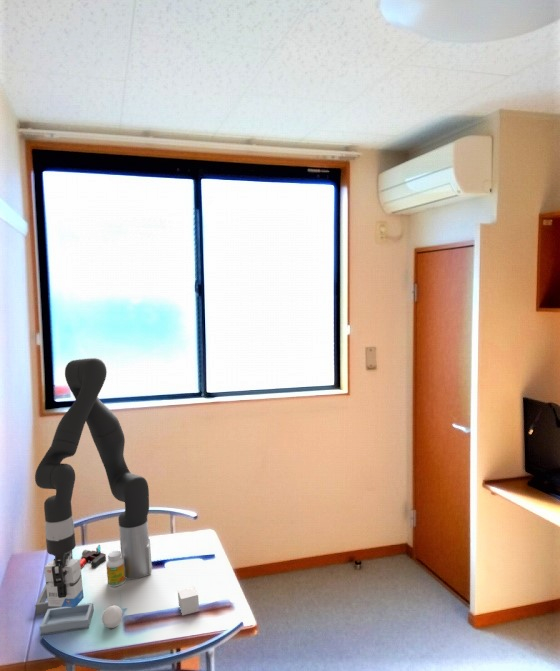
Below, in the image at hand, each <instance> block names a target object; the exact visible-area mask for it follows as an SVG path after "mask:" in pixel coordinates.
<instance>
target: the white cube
mask: <svg viewBox="0 0 560 671" xmlns="http://www.w3.org/2000/svg"><path fill="white" fill-rule="evenodd" d="M177 596H178V597H177V599H178V607H179V606H180V608H181V611H180V613H182V614H181V616H185V615H189V614H193V613H197V612H199V611H200V604H199V602H200V601H199V593H198V592H197V589H196V587H195V586H191V587H187V588H183V589H179V590H177ZM180 608H179V609H180Z"/></svg>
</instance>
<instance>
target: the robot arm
mask: <svg viewBox="0 0 560 671" xmlns="http://www.w3.org/2000/svg"><path fill="white" fill-rule="evenodd" d="M107 373H108V372H107V367H106V364H105V362H104V361H103V360H102V359H100V358H97V357H93V358H92V357H90V358H82V359H75V360H71V361H69V362H68V363H67V364H66V366H65V368H64V377H65V381H66V384H67V385H68V387H69V389H70V391H71V394H72V395H73V398H74V399H75V400H74V402H73V403H72V405H71V406H70V407H69V408H68V410H67V411H66V412H65V414H64V415H63V416H62V417H61V419H60V421H59V423H58V424H57V427H56V429H55V433H54V435H53V439H52V442H51V445H50V447H49V448H48V449H47V451H46V453H45V455H44V456H43V458H42V460H40V462H39V464H38V466H37V468H36V470H35V474H34V479H35V484H36V486H37V487H39V488H40V489H45V490H55V495H52V496H48V497H47V498H46V499H45V500H44V503H43V507H44V508H43V509H44V511H43V512H44V522H45V524H44V533H45V543H46V545H45V546H46V552H47V553H48V554H49V555H51V556H54V558H53V559H54V560H53V559H52V560H53V565H54V566H52V575H53V582H54V587H56V586H57V591H58V597H59V598H62V597H66V595H67V590H66V575H67V571H66V570H65V572H63V568H64V567H65V566H67V565H68V563H69V560H70V559H74V558H73V550H74V549H75V548H76V533H75V524H74V523H75V522H74V518H73V510H72V497H73V493H74V492H73V491H74V487H75V482H76V472H75V470H74V468H73V466H72V465H71V464H68V463H62V462H63V460H65V459H67V458H71V457H74V456H75V455H76V452H77V450H78V447H79V443H80V441H81V437H82V433H83V430H84V427H85V424H86V425H87V427H88V429H89V433H90V435H91V438H92V440H93V442H94V443H93V444H94V446H95V447H96V450H97V452H98V455H99V457H100V459H101V462H102V465H103V467H104V469H105V473H106V477H107V480H108V481H107V482H108V485H109V488H110V491H111V495H112V496H113V497H114V498H115V499H116V500H117V501H119V502H123V503H124V511H123V512H121V513H120V514H119V515H118V530H119V544H120V546H119V547H120V552H121V558H123V560H124V572H125V579H129V580H136V579H141V578H144V577H146V576H149V575H151V573H152V569H153V568H152V566H153V565H152V552H151V541H150V538H149V536H150V533H149V524H148V522H149V521H148V514H149V511H150V492H149V484H148V481H147V480H146V478H145V477H143V476H142V475H138V474H134V473H132V472H130V469H129V468H128V465H127V462H126V461H125V457H124V456H125V455H124V452H125V445H126V444H125V443H126V440H125V434H124V432H123V429H122V426H121V423H120V420H119V419H118V417H117V416H116V415H115V414H114V412H113V411H112V410H111V409H109V407H108V406H106V404H104V403H103V402H102V400H100V398H99V394H100V392H101V390H102V388H103V386H104V384H105V381H106V378H107ZM59 579H61V580H59Z"/></svg>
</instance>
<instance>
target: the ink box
mask: <svg viewBox="0 0 560 671" xmlns="http://www.w3.org/2000/svg"><path fill="white" fill-rule="evenodd" d="M54 559H55V558H53V559H52V560H51V561H50V562H48V563H47V564H45V566H44V568H43V569H44V578H45V579H44V580H45V585H46V589H47V599H46V600H47V602H48V606H54V607H76V606H77V605H80V604H81V602H82V600H83V599H84V598H85V596H84V588H83V579H82V570H81V569H82V568H81V566H80V560H81V559H74V558H73V559H70V560H69V563H68V565H67V566H65V567H64V568H63V572H65V570H66V571H67V575H66V590H67V595H66V597H62V598H59V597H58V591H57V586H56V587H54V582H53V575H52V566H54V565H53V560H54ZM59 580H61V579H59Z"/></svg>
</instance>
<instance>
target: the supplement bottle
mask: <svg viewBox="0 0 560 671" xmlns="http://www.w3.org/2000/svg"><path fill="white" fill-rule="evenodd" d="M107 558H108V560H106V563H105V564H106V565H105V566H106V576H107V577H106V578H107V579H106V580H107V585H108V586H109V587H119V586H121V585H123V584H124V583H125V582H126V578H125V572H124V560H123V558H121V550H120V551H119V550H113V551H110V552H108V554H107Z"/></svg>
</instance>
